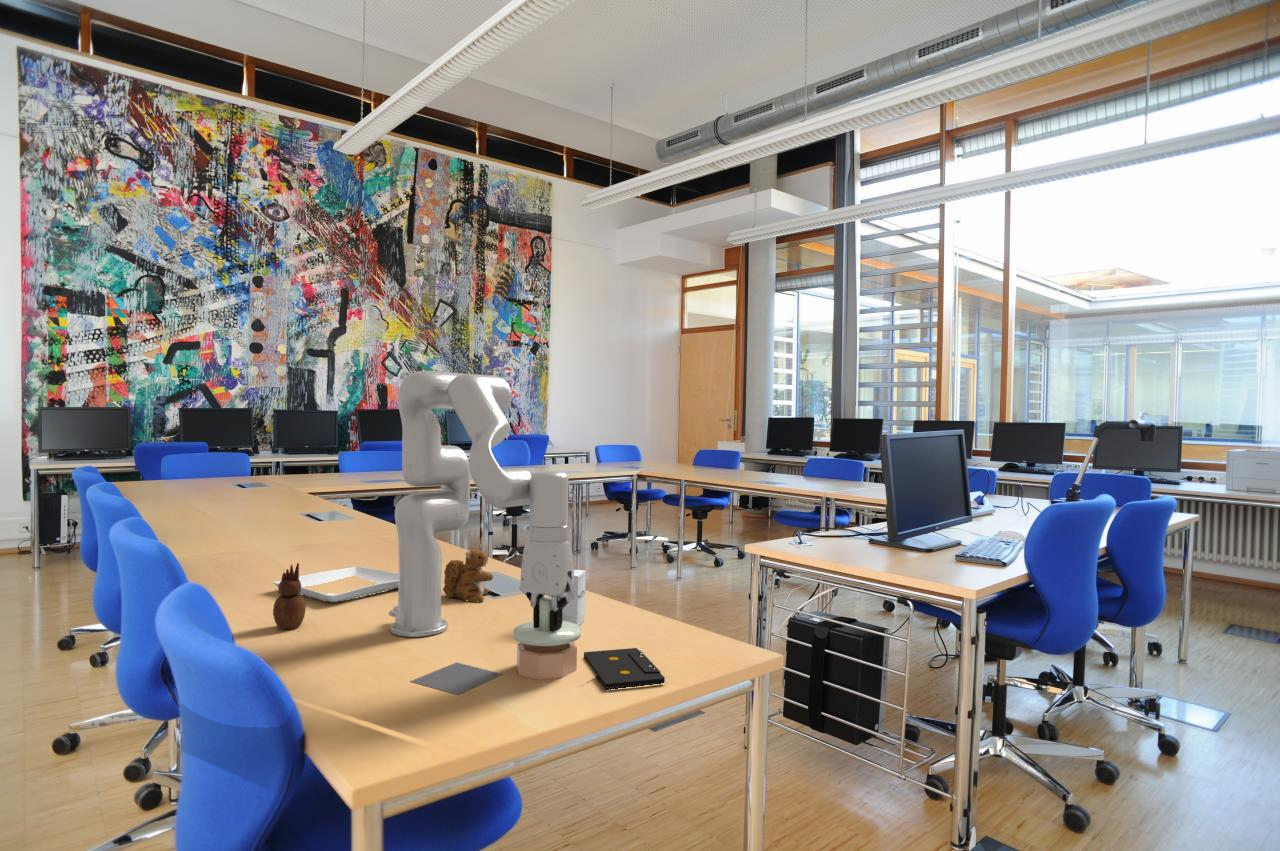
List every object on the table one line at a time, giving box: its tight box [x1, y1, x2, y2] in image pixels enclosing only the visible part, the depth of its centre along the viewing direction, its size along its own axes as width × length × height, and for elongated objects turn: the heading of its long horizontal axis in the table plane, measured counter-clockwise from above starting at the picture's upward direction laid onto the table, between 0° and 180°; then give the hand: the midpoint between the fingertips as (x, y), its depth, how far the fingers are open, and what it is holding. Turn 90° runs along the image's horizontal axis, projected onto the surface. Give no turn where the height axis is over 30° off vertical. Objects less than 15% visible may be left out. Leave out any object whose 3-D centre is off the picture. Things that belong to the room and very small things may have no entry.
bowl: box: [516, 641, 578, 680], centre depth 139 cm, size 11×11×5 cm
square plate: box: [272, 566, 399, 603], centre depth 199 cm, size 27×27×4 cm
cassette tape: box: [583, 647, 666, 691], centre depth 140 cm, size 18×12×2 cm, turn 18°
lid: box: [513, 596, 582, 646], centre depth 139 cm, size 13×13×7 cm
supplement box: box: [548, 569, 587, 627], centre depth 171 cm, size 7×7×13 cm
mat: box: [409, 662, 504, 696], centre depth 133 cm, size 12×12×1 cm
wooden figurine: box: [272, 562, 307, 630], centre depth 164 cm, size 7×6×15 cm
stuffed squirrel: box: [442, 548, 494, 603], centre depth 194 cm, size 10×14×13 cm
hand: (547, 627), depth 139 cm, fingers closed on lid, 3 cm apart
